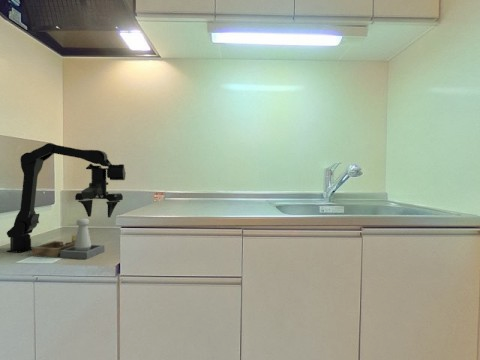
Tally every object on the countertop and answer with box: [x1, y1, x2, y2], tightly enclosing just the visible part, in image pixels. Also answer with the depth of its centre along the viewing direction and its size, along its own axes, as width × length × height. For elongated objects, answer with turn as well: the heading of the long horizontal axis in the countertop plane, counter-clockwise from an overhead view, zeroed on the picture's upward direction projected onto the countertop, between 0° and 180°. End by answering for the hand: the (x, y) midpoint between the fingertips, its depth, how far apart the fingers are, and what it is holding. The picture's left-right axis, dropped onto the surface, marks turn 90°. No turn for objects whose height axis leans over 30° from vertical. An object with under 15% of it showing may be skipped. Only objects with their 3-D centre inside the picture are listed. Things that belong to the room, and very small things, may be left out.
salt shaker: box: [75, 217, 92, 252], centre depth 119 cm, size 6×6×13 cm
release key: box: [61, 234, 77, 247], centre depth 129 cm, size 3×9×4 cm, turn 171°
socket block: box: [31, 240, 75, 258], centre depth 121 cm, size 11×11×3 cm
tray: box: [59, 244, 105, 260], centre depth 119 cm, size 11×11×2 cm
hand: (99, 217), depth 129 cm, fingers open, 9 cm apart
